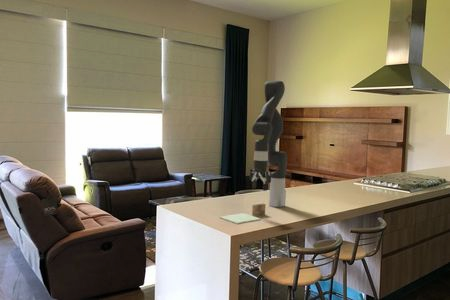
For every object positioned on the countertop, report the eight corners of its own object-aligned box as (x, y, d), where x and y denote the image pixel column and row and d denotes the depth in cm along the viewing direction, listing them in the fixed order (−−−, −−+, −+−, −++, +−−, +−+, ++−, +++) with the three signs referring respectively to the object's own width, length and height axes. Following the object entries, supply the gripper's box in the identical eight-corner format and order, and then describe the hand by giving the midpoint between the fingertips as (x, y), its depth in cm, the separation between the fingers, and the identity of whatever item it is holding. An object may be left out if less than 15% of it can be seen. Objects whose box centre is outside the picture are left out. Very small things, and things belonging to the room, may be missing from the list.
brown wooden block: (263, 214, 210) (263, 203, 210) (265, 214, 209) (265, 203, 208) (252, 215, 205) (252, 204, 205) (254, 216, 204) (254, 205, 203)
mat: (243, 214, 208) (243, 213, 208) (260, 219, 197) (260, 218, 197) (219, 217, 198) (219, 216, 198) (236, 224, 187) (236, 222, 187)
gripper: (275, 160, 202) (273, 191, 203) (257, 158, 213) (255, 187, 214) (265, 160, 197) (263, 192, 198) (246, 158, 208) (245, 188, 209)
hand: (259, 189), depth 206 cm, fingers open, 8 cm apart
